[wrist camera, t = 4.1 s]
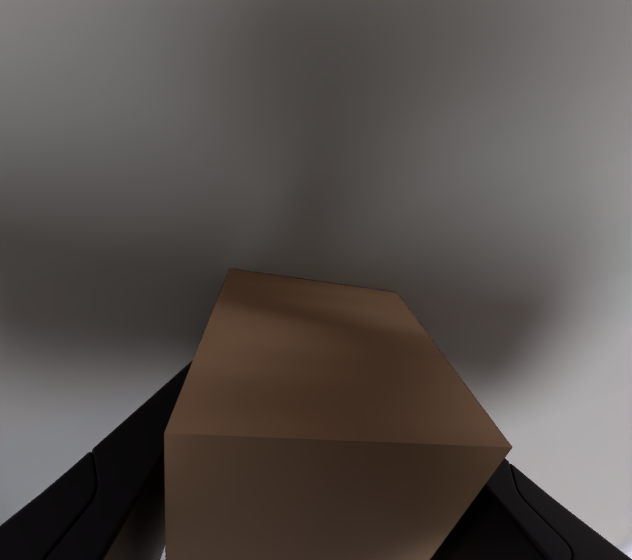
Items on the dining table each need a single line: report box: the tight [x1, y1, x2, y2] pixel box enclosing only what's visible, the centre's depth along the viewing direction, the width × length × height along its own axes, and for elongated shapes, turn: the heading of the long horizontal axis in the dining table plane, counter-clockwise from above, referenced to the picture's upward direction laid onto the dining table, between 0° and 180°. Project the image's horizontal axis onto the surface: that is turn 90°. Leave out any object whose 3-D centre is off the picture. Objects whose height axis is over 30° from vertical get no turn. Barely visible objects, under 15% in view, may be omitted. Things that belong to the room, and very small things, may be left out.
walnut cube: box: [164, 269, 512, 560], centre depth 7 cm, size 5×5×5 cm
